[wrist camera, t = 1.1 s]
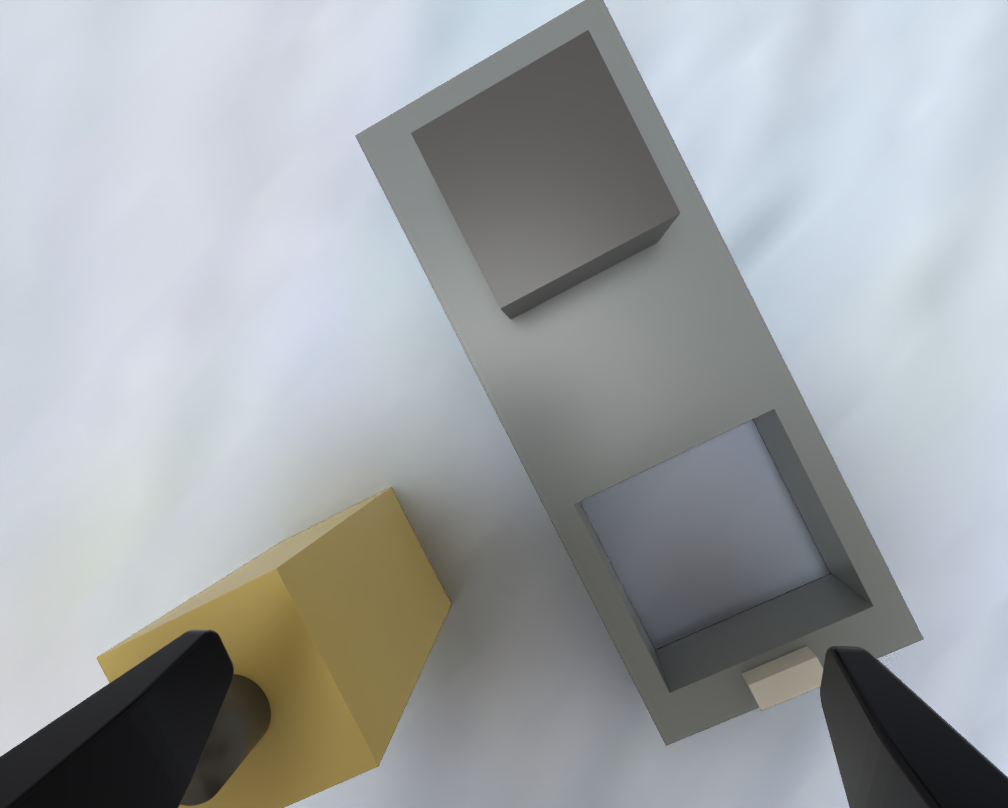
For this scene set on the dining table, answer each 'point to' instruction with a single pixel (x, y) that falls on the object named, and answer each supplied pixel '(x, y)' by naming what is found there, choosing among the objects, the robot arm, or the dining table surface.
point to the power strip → (622, 343)
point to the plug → (308, 655)
